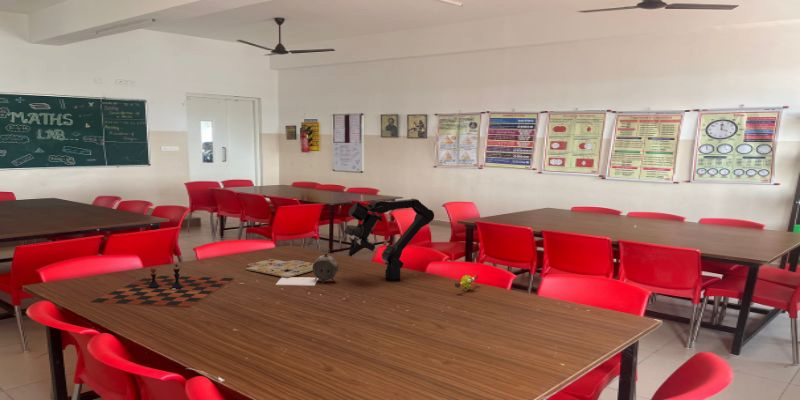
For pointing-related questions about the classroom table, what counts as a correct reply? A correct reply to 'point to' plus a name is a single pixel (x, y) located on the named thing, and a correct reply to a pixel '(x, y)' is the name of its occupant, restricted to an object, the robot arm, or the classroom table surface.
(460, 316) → the classroom table surface
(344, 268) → the classroom table surface
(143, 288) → the chessboard
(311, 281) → the white sheet of paper
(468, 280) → the toy figure
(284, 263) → the alphabet tiles
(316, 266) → the alarm clock
